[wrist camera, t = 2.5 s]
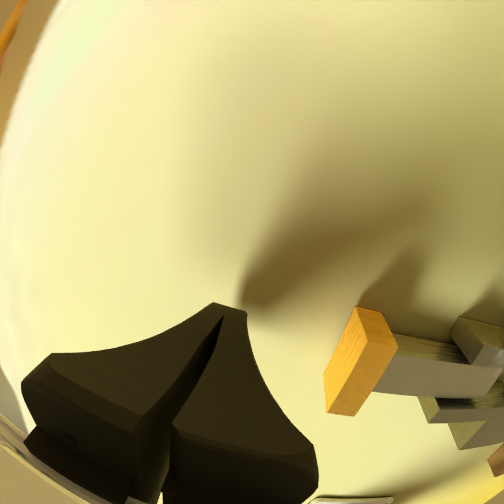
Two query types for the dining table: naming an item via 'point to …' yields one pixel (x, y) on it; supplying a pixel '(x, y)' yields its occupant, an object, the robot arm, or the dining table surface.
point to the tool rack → (497, 462)
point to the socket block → (473, 409)
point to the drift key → (397, 366)
